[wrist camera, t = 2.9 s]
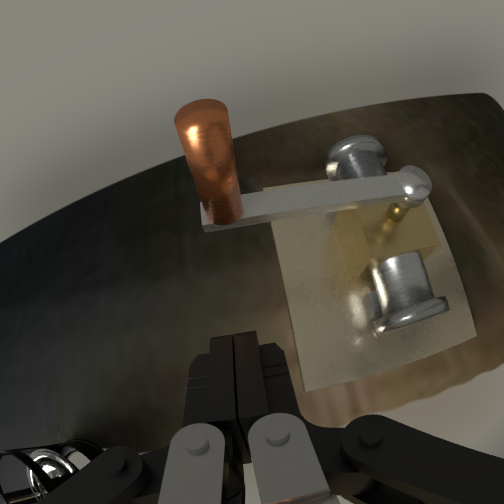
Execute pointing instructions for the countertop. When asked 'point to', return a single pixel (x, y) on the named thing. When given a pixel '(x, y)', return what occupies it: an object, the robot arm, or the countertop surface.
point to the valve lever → (278, 200)
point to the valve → (367, 280)
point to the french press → (46, 469)
